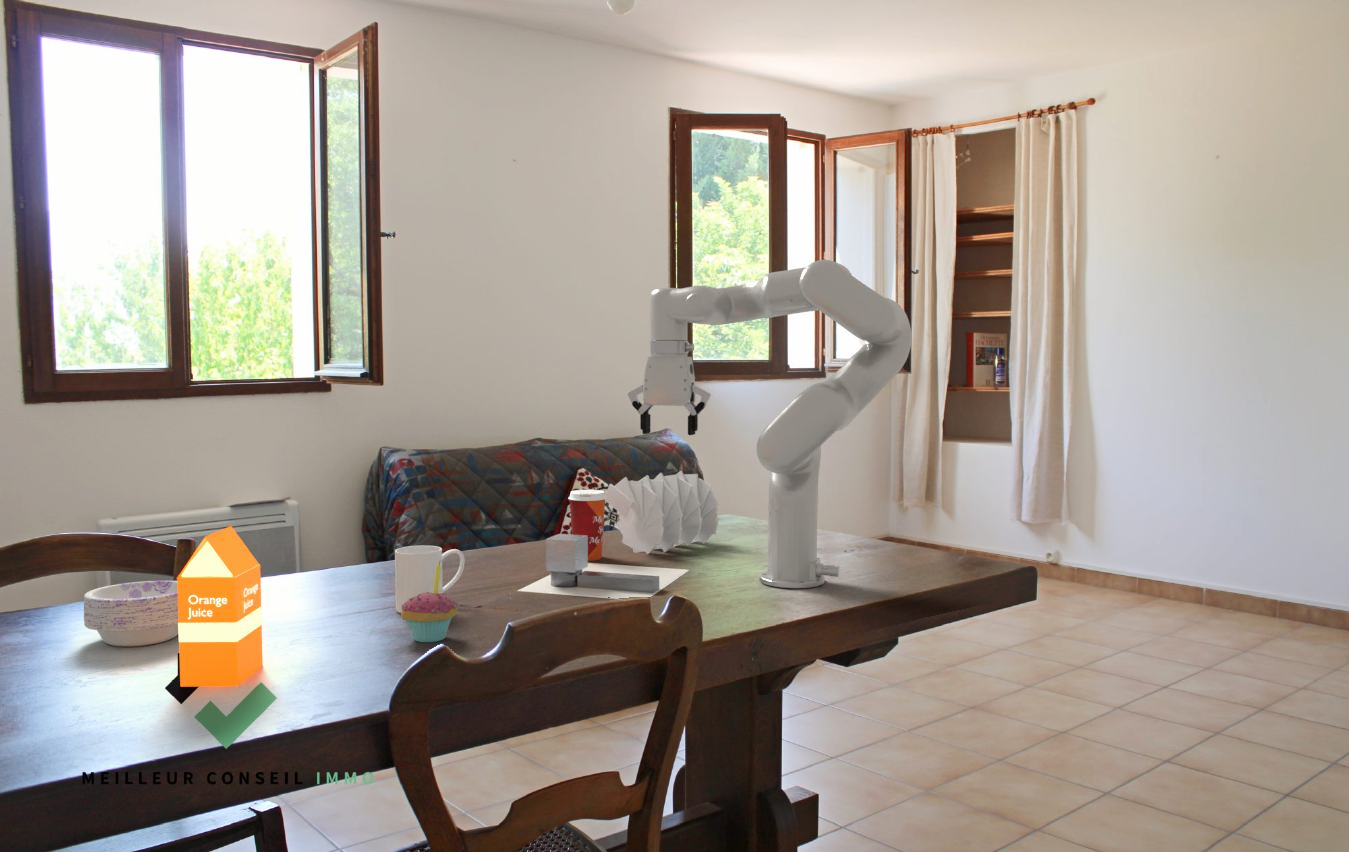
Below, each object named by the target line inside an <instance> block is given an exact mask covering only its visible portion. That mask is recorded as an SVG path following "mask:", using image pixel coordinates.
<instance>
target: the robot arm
mask: <svg viewBox="0 0 1349 852" xmlns="http://www.w3.org/2000/svg"><path fill="white" fill-rule="evenodd" d="M649 298H650V299H649V300H650V301H649V302H650V303H649V304H650V306H649V307H650V311H649V312H650V315H649V316H650V321H649V323H650V325H649V327H650V332H649V333H650V334H649V335H650V337H649V338H650V339H649V340H650V341H649V342H650V343H649V344H650V349H649V350H650V356H647V357H646V363H645V368H644V369H645V370H644V375H643V376H644V377H643V384H642V385H640V386H637V387H636V388H635V389H633V390H630V391H629V392H628V393H627V397H628V399H629V401H630V402H631V405H632V407H633V408H634V409H635V410H636V411H637V413H638V414H639V415H640V421H639V422H640V426H639V427H640V431H642V435H648V434H650V433H651V414H650V413H649V411H651V409H652V407H653V406H665V407H666V406H670V407H673V406H675V407H676V406H678V407H679V406H680V407H683V406H684V408H685V409H686V410H687V412H688V413H689V415H687V435H688V436H693V435H696V432H697V431H698V427H699V425H698V421H699V420H698V415H700V413H701V412H702V411H703V410H704V409H705V408H706V406H707V404H708V402H709V401H710V398H711V396H712V395H711V392H708V391H706V390H705V389H703V388H701V387H699V386H698V385H696V379H695V370H694V362H693V358H692V356H688V354H689V352H692V351H693V352H694V351H695V344H694V343H690V342H689V340H688V327H689V326H688V324H689V323H691V324H697V325H710V326H723V325H730V324H735V323H742V322H748V321H749V322H751V321H754V320H760V319H771V318H775V317H782V316H789V315H793V314H801V313H809V312H816V311H820V312H821V313H823V314H824V315H825V316H827V317H829V319H831V320H832V321H834V322H836V323H837V324H838V325H840V326H841V327H842V328H843V329H845V330H847V331H848V332H849V333H851V334H852V335H853V336H854V337H857V338H858V339H860V340H861V341H864V343H863V344H862V346H861V347H860V348H859V350H858V351H856V353H854V354H853V355H852V356H850V358H849V359H848V360H846V362H845V363H844V364H843V365H842V366H841V367H840V368H839V369H838V370H836V372H835V373H834V374H832V376H830V377H829V378H828V379H827V380H826V381H823V382H817V383H814V384H812V385H810V386H809V387H807V388H805V389H804V390H803V391H802V392H801V393H799V394H798V395H797V396H796V397H795V398H794V399H793V400H792V401H791V402H790V403H789V404H788V405H787V406H786V407H785V408H784V409H783V410H782V411H781V412H780V413H779V414H778V415H777V416H776V417H775V418H773V420H772V421H771V422H770V423H769V424H768V425H766V427H765V428H764V430H763V431H761V433H760V435H759V437H758V438H757V442H756V450H755V451H756V456H757V459H758V461H759V463H760V464H761V466H762V467H763V468H765V470H767V471H769V472H770V473H769V483H768V502H767V503H768V504H767V505H768V508H767V510H768V511H767V512H768V513H767V514H768V515H767V520H768V522H767V524H768V525H767V526H768V527H767V532H768V533H767V571H763V572H762V573H760V574H759V581H760V582H761V583H762V584H764V585H766V586H771V587H776V588H781V589H782V588H784V589H809V588H816V587H819V586H822V585H824V583H825V582H826V581H825V576H828V577H835V578H836V577H837V578H839V577H840V566H835V565H834V564H833V565H832V564H823V563H821V557H818V507H819V506H818V504H819V476H820V475H819V474H820V467H821V458H822V445H823V444H824V443H825V442H826V441H827V440H829V439H830V438H831V437H832V436H833V435H834V434H835V433H836V432H838V431H841V430H844V429H845V428H847V427H848V426H849V425H850V424H851V423H852V422H853V421H854V420H855V418H856V417H857V416H858V415H859V414H860V413H861V412H862V411H863V410H864V409H865V408H866V407H867V406H868V405H869V404H870V403H871V402H872V401H873V400H875V398H876V397H877V396H878V395H879V394H880V392H882V391H883V389H884V388H886V387H887V386H888V385H889V384H890V382H892V380H893V379H894V378H895V377H896V376H897V375H898V374H899V373H900V371H901V370H902V368H903V367H904V365H905V363H906V362H907V359H908V358H909V355H910V350H911V346H912V329H911V324H910V320H909V318H908V314H907V313H906V312H905V310H904V307H902V306H901V305H900V304H899V303H898V302H897V301H895V300H893V299H890V298H887V297H885V296H882V295H881V294H880V293H878V292H877V291H875V290H873V289H872V288H870V287H869V286H867V285H866V284H865V283H863V282H861V281H860V280H859V279H857V278H856V277H854V276H853V275H852V273H851V271H850V270H849V268H847V266H845V265H843V264H841V263H838V262H837V261H834V260H831V259H818V260H815V261H814V262H811V263H810V264H808V265H807V266H806V267H799V268H793V269H787V270H786V269H785V270H780V271H779V270H778V271H774V272H769V273H766V274H764V275H763V276H762V277H760V278H759V279H757V280H755V281H753V282H748V283H746V284H745V283H744V284H740V285H733V286H727V287H721V288H717V287H712V286H707V285H694V286H687V287H683V288H678V287H661V288H655V289H653V290H652V291H651V293H650V297H649ZM641 394H642V399H643V402H644V403H641V402H640V401H639V398H638V396H640V395H641ZM696 395H698V396H700V397H701V398H700V400H699V402H698V403H697V404H695V402H696V398H697V397H696Z"/></svg>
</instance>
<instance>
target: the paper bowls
mask: <svg viewBox="0 0 1349 852" xmlns="http://www.w3.org/2000/svg"><path fill="white" fill-rule="evenodd" d="M83 621H84V622H83V623H84V627H85V628H87V629H88V630H92V631H93V630H94V631H97V632H98V634H99V636H100V638H101V639H102V641H103V642H104V643H105V644H108V645H111V646H115V647H125V648H126V647H143V646H150V645H151V646H152V645H154V644H155V645H156V644H160V643H163V642H167V641H169V640H171V639H173V638H175V637H176V636H179V635H178V623H179V619H178V584H177V580H143V581H133V582H124V583H117V584H112V585H105V586H103V587H98V588H95V589H91V590H89V591H87V592H86V593H84V595H83Z"/></svg>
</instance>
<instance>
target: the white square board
mask: <svg viewBox="0 0 1349 852" xmlns="http://www.w3.org/2000/svg"><path fill="white" fill-rule="evenodd" d="M584 571H594V572H608V573H622V574H636V575H650V576H659V589H658V590H657V591H656V592H654V593H645V592H632V591H619V590H606V589H593V588H580V587H571V588H560V587H554V586H551V574H549V575H547V576H545V577H542V578H540V579H538V580H536V581H534V582H532V583H530V584H528V585H526V586H524V587H522V588H519V589H518V590H517V592H524V593H536V594H537V593H538V594H549V595H550V594H551V595H558V596H559V595H561V596H571V597H572V596H574V597H575V596H576V597H588V598H600V599H611V600H620V599H619V598H629V597H650V598H651V597H654V596H655V595H656V594H658V593H659V592H660V591H661V590H663V589H664V588H666V587H668V586H669V585H670V584H672V583H673V582H674V581H676V580H678V579H679V578H681V577H682V576H683V575H685V574H686V573H688V572H690V569H684V568H683V569H682V568H668V567H657V566H656V567H655V566H654V567H653V566H641V565H639V566H637V565H624V564H610V563H609V564H608V563H594V562H588V567H586V568H584V569H582V572H584ZM608 597H610V598H608Z"/></svg>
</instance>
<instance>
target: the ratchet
mask: <svg viewBox="0 0 1349 852" xmlns="http://www.w3.org/2000/svg"><path fill="white" fill-rule="evenodd" d="M550 575H551V586H554V587H560V588H571V587H580V588H593V589H606V590H619V591H632V592H645V593H654V592H656V591H657V590H658V589H659V576H650V575H636V574H622V573H608V572H594V571H584V572H582V570H580V571H578V572H576V573H572V572H558V571H550Z"/></svg>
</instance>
